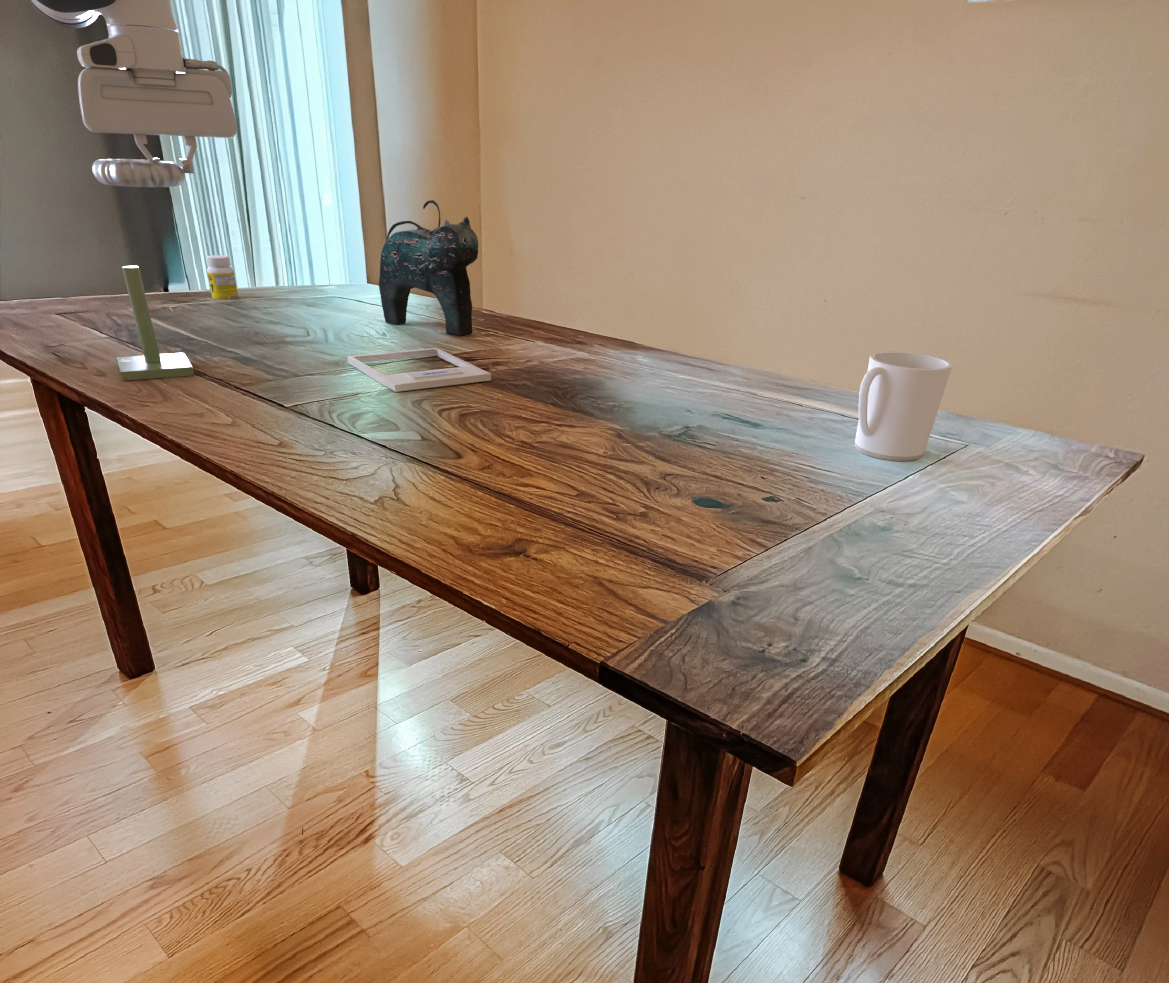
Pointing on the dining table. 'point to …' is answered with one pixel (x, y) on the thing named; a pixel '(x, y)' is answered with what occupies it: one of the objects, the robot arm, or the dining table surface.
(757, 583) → the dining table surface
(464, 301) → the ceramic cat
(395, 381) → the photo frame
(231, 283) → the supplement bottle
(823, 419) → the dining table surface
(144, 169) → the ring
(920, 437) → the mug
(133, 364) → the stand
